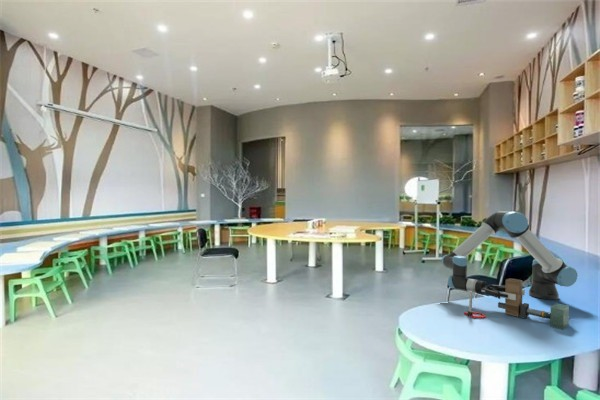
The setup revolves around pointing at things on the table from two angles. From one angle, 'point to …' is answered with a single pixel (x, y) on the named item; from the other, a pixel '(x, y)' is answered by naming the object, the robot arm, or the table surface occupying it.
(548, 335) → the table surface
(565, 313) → the rod stand
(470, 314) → the tow hook
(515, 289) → the sleeve
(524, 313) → the collar
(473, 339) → the table surface
